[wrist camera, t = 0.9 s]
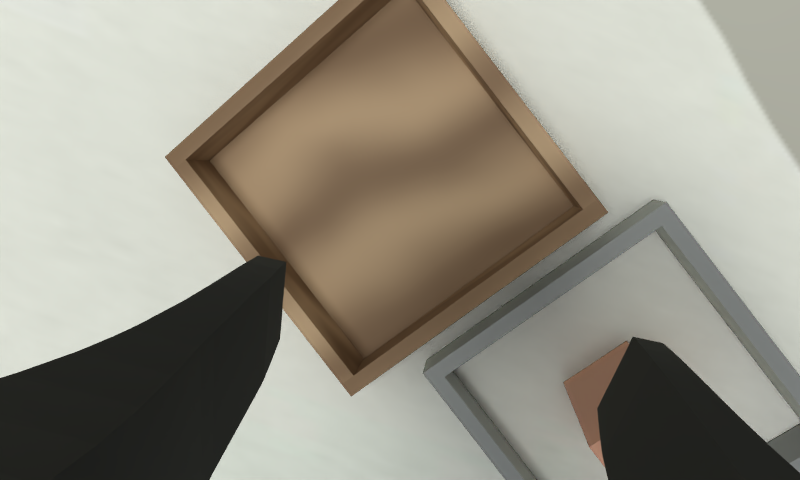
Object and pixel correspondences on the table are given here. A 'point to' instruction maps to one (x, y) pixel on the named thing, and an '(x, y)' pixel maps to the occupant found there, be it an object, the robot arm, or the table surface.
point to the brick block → (593, 394)
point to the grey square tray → (655, 216)
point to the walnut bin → (384, 180)
